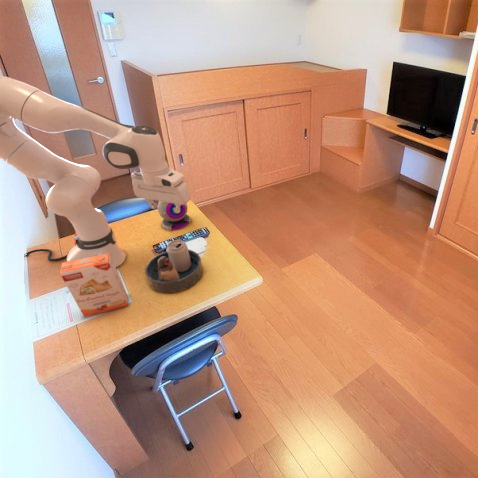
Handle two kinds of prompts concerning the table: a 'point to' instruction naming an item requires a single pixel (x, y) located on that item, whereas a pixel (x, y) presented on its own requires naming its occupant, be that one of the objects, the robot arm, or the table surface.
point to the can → (179, 255)
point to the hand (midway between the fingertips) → (165, 210)
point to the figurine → (167, 270)
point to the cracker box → (94, 284)
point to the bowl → (186, 277)
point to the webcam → (173, 216)
